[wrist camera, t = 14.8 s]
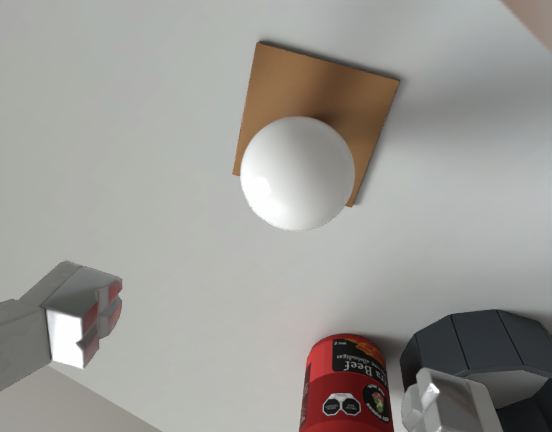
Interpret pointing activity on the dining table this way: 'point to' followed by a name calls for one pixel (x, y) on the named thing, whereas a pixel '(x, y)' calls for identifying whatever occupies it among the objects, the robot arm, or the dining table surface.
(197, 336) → the dining table surface
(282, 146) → the lightbulb
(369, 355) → the canned food
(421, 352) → the dark grey polygonal container
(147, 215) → the dining table surface
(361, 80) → the coaster
